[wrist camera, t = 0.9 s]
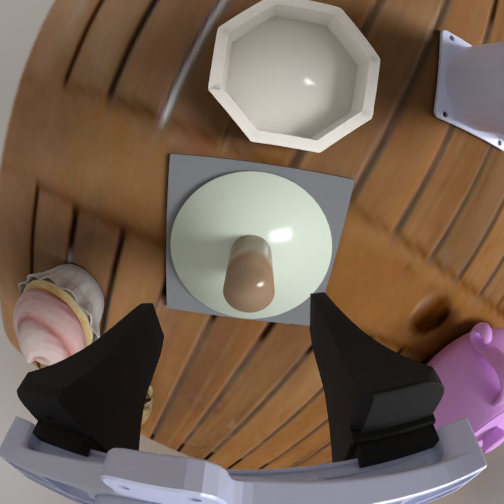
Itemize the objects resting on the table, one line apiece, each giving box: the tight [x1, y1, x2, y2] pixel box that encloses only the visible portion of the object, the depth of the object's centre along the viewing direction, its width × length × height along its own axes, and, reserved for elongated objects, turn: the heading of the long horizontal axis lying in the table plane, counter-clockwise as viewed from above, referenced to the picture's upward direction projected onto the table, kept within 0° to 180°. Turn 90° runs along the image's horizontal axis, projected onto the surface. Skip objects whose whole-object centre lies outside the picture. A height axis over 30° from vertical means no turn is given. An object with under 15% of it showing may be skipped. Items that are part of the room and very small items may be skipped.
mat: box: [166, 153, 354, 325], centre depth 22 cm, size 13×13×1 cm
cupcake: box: [13, 264, 104, 366], centre depth 20 cm, size 9×9×10 cm
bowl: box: [208, 0, 380, 153], centre depth 15 cm, size 10×10×3 cm
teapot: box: [426, 322, 504, 453], centre depth 23 cm, size 22×22×14 cm
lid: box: [170, 170, 332, 319], centre depth 19 cm, size 12×12×6 cm
